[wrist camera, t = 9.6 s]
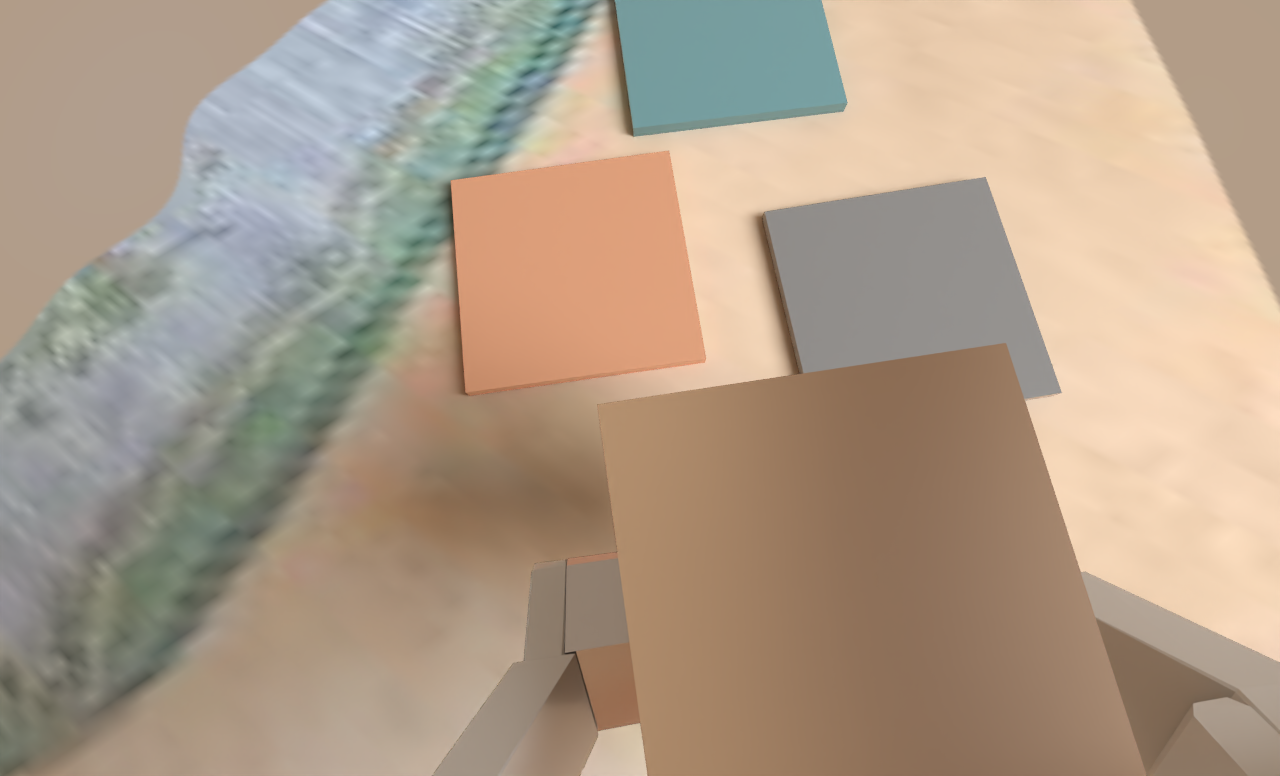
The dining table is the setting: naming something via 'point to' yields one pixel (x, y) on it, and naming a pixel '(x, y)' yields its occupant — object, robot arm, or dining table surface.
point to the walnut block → (857, 579)
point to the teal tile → (726, 62)
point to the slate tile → (904, 281)
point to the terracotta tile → (573, 274)
